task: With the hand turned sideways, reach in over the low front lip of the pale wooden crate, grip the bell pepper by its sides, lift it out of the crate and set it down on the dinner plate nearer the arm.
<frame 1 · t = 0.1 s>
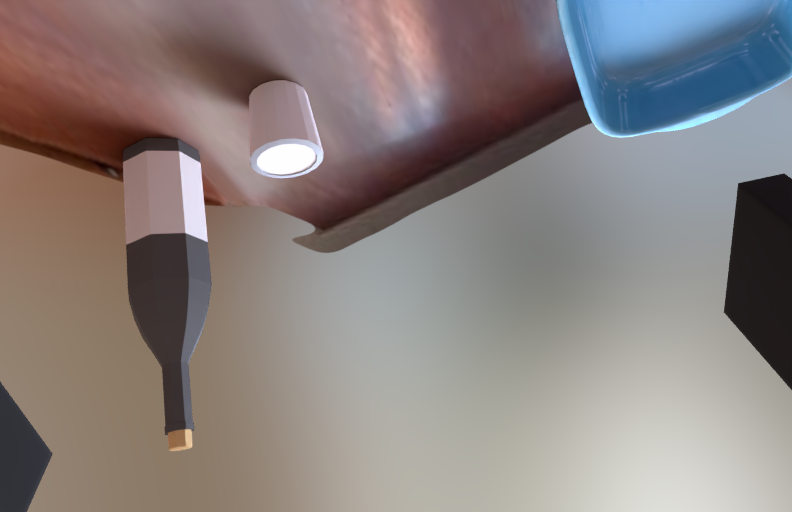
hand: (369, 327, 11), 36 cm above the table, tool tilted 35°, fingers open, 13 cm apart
wine bottle: (161, 156, 68), on the table
white cup: (277, 97, 63), on the table
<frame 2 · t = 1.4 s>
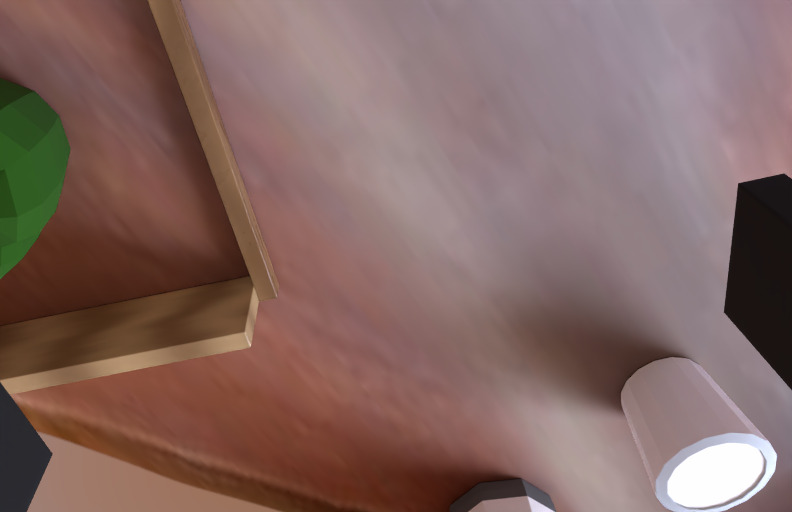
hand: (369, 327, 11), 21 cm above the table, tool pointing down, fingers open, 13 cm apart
wine bottle: (498, 511, 47), on the table
bell pepper: (5, 135, 30), resting in crate
white cup: (661, 388, 42), on the table
crate: (3, 136, 30), on the table
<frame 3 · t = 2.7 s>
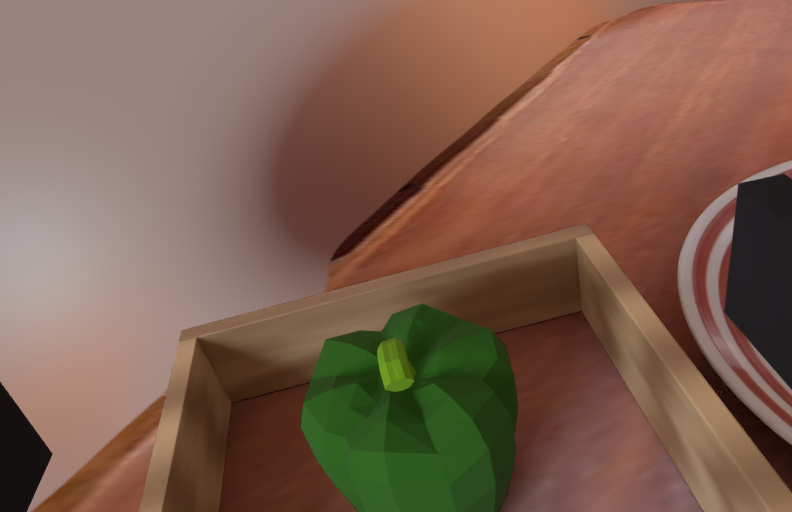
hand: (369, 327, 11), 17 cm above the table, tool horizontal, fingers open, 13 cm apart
bell pepper: (436, 497, 28), resting in crate
crate: (435, 495, 28), on the table
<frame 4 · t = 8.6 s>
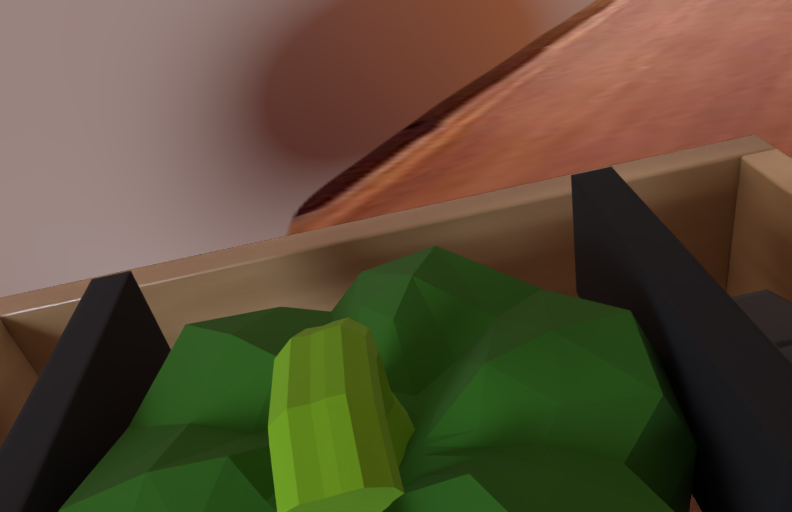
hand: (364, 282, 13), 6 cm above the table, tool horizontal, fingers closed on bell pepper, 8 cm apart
when the fingers open (10 cm above the table, at t = 18.0 s): bell pepper stays where it is, resting on dinner plate.
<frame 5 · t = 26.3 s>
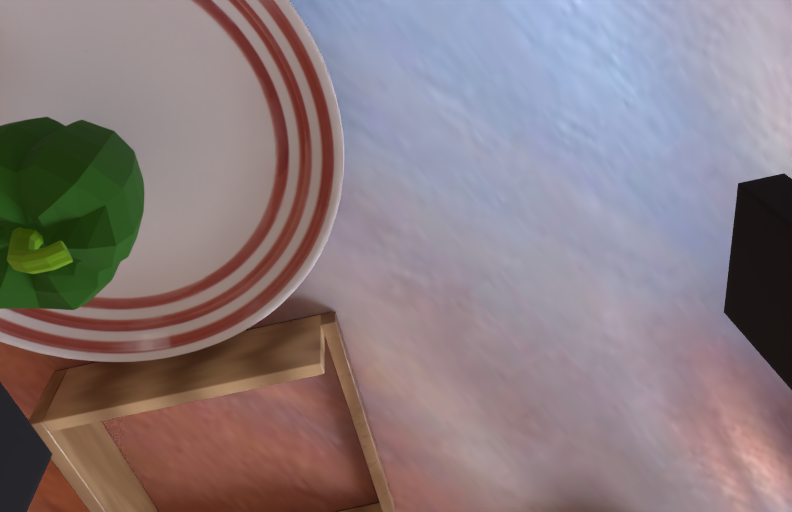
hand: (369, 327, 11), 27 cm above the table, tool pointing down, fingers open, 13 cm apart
bell pepper: (83, 168, 34), point 3 cm above the table, touching dinner plate
dinner plate: (99, 137, 36), on the table, touching bell pepper
crate: (244, 446, 50), on the table
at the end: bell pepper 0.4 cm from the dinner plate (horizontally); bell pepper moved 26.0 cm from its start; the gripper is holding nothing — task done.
